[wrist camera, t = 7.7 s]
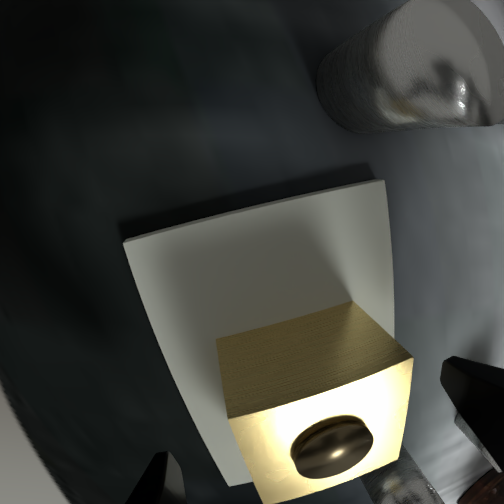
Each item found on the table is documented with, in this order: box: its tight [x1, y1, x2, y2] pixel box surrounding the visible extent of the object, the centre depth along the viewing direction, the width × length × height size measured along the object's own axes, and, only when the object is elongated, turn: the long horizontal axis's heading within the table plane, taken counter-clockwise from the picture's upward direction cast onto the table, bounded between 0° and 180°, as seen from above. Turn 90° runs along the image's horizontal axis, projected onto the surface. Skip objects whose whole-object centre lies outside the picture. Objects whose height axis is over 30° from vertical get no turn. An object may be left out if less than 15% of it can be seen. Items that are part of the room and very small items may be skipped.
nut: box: [216, 301, 413, 504], centre depth 9 cm, size 5×5×4 cm
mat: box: [123, 179, 394, 486], centre depth 11 cm, size 8×12×1 cm, turn 12°
